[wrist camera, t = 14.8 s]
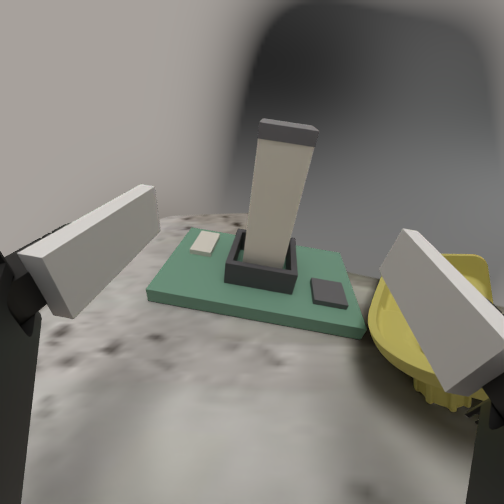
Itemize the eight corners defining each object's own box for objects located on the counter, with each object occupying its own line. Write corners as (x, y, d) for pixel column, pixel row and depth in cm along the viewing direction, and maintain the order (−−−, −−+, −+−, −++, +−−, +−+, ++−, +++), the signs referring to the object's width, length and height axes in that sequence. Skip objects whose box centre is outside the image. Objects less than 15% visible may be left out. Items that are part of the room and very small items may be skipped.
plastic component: (389, 253, 30) (500, 254, 23) (391, 302, 32) (494, 315, 25) (352, 352, 15) (622, 425, 9) (359, 431, 17) (583, 537, 11)
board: (335, 261, 30) (346, 236, 28) (360, 339, 20) (380, 310, 18) (192, 236, 31) (191, 210, 28) (148, 300, 21) (141, 267, 19)
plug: (279, 260, 26) (312, 125, 18) (279, 283, 23) (319, 131, 15) (245, 254, 26) (263, 118, 18) (240, 276, 23) (259, 122, 15)
